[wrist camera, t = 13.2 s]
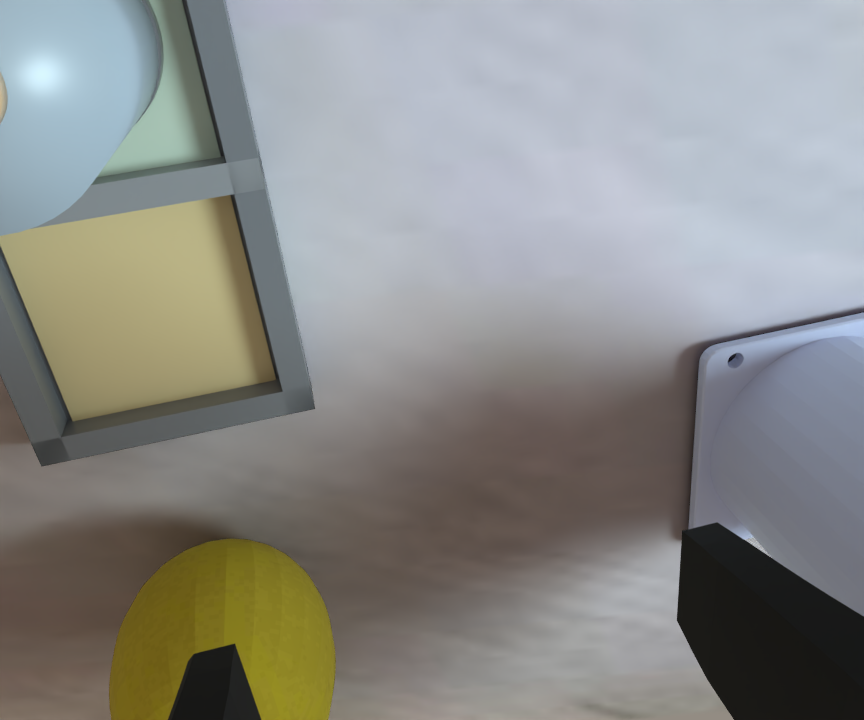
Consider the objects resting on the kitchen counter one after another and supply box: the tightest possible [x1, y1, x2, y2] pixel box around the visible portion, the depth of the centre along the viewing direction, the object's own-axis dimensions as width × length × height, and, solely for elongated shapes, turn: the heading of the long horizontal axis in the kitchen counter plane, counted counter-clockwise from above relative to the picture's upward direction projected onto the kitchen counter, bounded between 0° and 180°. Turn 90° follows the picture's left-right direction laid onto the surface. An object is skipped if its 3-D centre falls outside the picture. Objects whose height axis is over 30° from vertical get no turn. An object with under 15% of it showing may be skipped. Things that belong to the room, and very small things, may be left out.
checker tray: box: [0, 0, 315, 466], centre depth 17 cm, size 7×12×1 cm, turn 7°
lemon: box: [109, 539, 336, 720], centre depth 19 cm, size 6×6×8 cm
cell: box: [0, 0, 164, 236], centre depth 12 cm, size 4×4×7 cm
